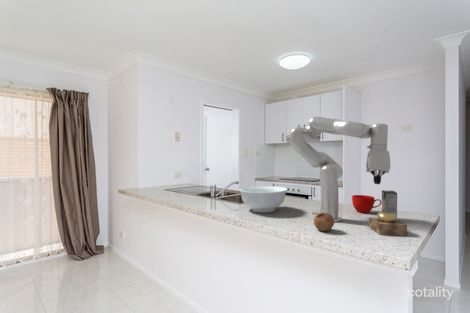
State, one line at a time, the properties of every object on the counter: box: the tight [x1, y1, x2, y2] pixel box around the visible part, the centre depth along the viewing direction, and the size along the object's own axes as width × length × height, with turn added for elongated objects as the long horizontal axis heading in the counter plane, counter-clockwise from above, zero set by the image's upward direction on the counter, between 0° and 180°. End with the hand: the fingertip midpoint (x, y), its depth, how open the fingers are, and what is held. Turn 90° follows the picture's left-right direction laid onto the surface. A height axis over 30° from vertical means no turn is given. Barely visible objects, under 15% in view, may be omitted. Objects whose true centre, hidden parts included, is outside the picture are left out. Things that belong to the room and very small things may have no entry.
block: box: [368, 217, 408, 237], centre depth 123 cm, size 12×12×5 cm
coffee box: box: [381, 189, 398, 220], centre depth 145 cm, size 9×6×16 cm
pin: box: [377, 211, 396, 223], centre depth 123 cm, size 8×8×8 cm
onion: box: [313, 213, 335, 232], centre depth 124 cm, size 10×9×10 cm
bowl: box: [239, 185, 288, 214], centre depth 169 cm, size 32×32×15 cm
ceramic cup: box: [351, 194, 382, 214], centre depth 163 cm, size 13×17×10 cm
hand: (377, 183), depth 130 cm, fingers closed
